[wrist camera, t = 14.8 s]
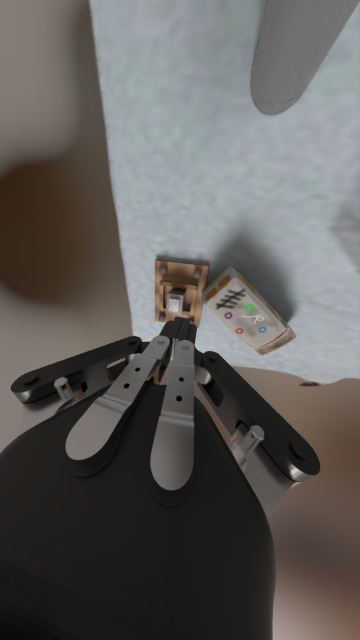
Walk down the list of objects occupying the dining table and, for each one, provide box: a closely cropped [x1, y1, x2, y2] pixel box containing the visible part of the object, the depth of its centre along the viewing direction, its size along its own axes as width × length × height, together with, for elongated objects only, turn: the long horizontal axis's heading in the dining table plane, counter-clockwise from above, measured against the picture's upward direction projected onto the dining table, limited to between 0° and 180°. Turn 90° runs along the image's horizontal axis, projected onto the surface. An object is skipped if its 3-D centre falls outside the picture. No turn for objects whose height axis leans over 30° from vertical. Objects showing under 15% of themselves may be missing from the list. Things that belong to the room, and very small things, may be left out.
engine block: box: [166, 288, 187, 315], centre depth 36 cm, size 5×4×7 cm
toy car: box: [201, 266, 296, 356], centre depth 35 cm, size 11×25×10 cm, turn 49°
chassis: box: [155, 260, 209, 328], centre depth 39 cm, size 18×14×3 cm
